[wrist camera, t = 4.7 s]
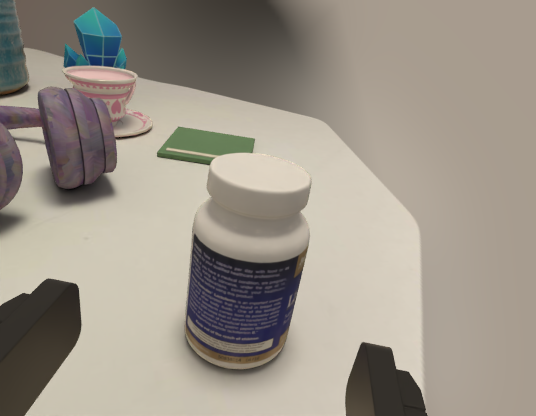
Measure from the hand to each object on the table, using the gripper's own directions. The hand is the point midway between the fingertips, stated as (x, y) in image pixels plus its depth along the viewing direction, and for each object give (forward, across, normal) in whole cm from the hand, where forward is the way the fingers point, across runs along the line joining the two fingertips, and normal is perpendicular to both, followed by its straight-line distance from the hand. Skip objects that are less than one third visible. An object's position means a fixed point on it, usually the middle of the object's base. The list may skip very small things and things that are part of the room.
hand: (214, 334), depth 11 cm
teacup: (+39, +23, +8) cm, 46 cm away
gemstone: (+50, +29, +8) cm, 59 cm away
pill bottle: (+9, 0, +8) cm, 12 cm away
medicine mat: (+37, +8, +8) cm, 39 cm away
